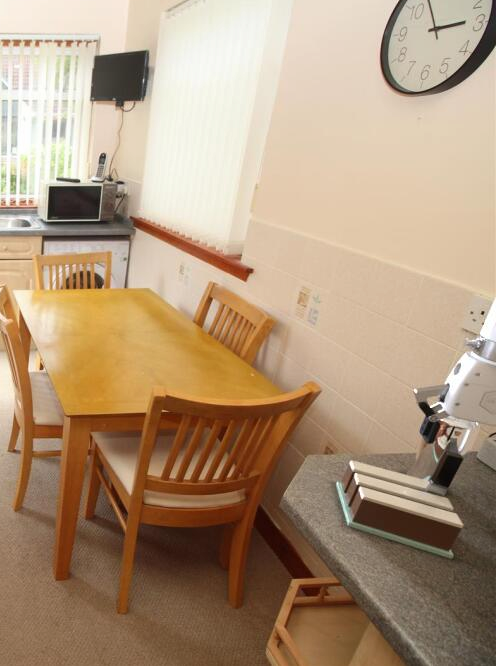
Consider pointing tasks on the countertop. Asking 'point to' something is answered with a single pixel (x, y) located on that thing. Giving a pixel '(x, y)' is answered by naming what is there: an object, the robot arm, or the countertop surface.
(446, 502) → the slatted panel
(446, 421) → the beer glass
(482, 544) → the countertop surface
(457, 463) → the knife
